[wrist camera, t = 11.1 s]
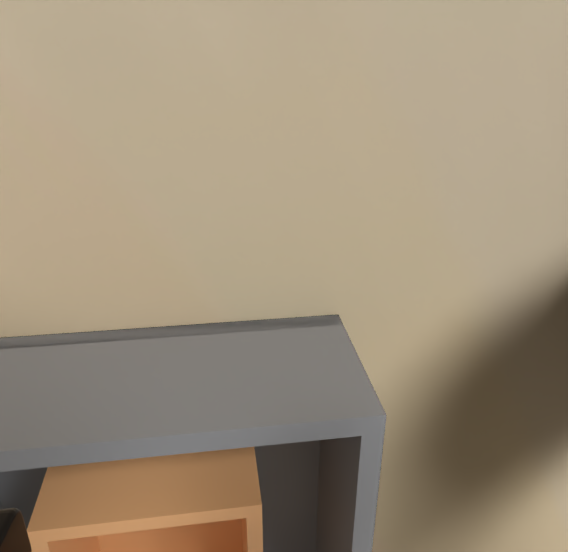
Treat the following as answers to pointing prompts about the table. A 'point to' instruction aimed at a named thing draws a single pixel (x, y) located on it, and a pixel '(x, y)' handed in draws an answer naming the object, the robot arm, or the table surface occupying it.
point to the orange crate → (152, 505)
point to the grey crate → (205, 415)
